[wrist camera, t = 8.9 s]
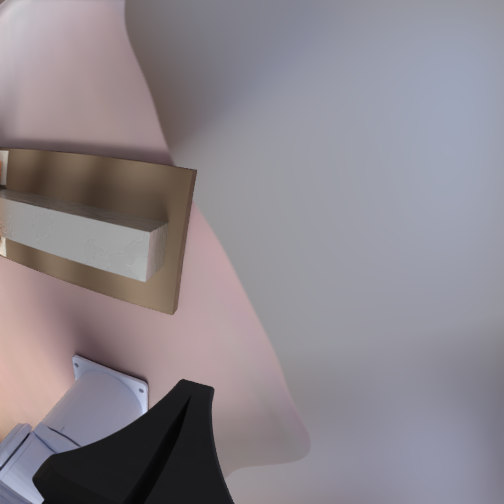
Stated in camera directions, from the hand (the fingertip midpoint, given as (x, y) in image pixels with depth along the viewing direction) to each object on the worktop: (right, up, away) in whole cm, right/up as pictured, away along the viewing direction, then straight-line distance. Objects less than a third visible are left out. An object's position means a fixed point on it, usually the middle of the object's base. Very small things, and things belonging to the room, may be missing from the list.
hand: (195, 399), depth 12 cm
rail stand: (-15, +9, +10) cm, 20 cm away
